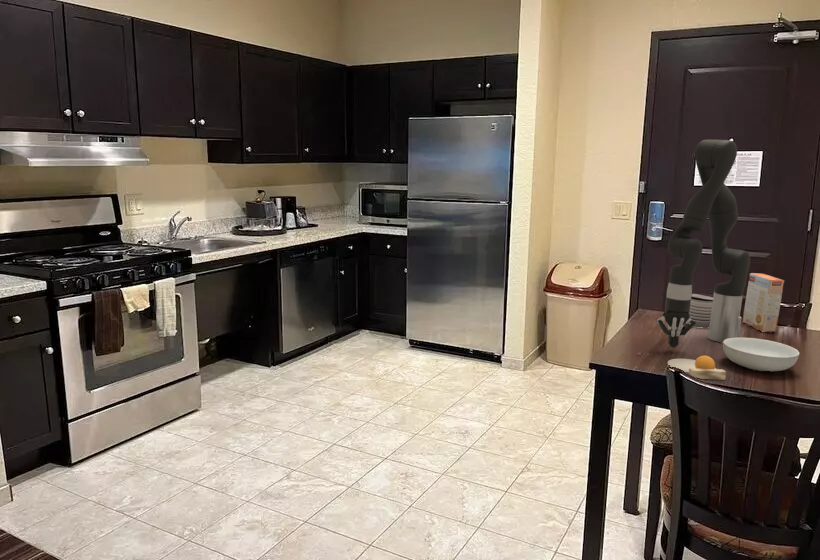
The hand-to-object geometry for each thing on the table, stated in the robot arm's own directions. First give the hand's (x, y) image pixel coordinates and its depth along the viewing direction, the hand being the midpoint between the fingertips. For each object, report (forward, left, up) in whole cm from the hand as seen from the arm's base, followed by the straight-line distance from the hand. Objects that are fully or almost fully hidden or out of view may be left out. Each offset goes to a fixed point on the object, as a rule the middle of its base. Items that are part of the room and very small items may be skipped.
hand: (672, 346), depth 202 cm
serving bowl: (-24, +9, -2) cm, 25 cm away
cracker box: (-42, -42, -2) cm, 59 cm away
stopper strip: (-4, +25, -2) cm, 25 cm away
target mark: (-3, +15, -2) cm, 15 cm away
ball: (-5, +20, +1) cm, 21 cm away
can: (-19, -40, -2) cm, 44 cm away
